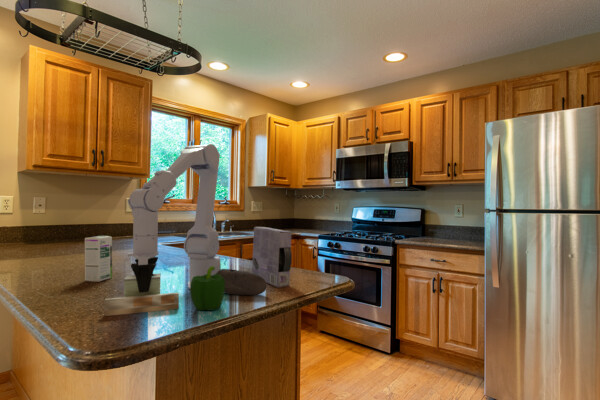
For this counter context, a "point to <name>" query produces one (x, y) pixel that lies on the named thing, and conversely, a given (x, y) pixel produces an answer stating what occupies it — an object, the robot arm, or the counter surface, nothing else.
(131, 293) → the tea tin
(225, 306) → the counter surface
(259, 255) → the cake pan box
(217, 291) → the bell pepper
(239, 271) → the perforated stone tool
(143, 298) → the shelf board
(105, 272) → the syrup box
